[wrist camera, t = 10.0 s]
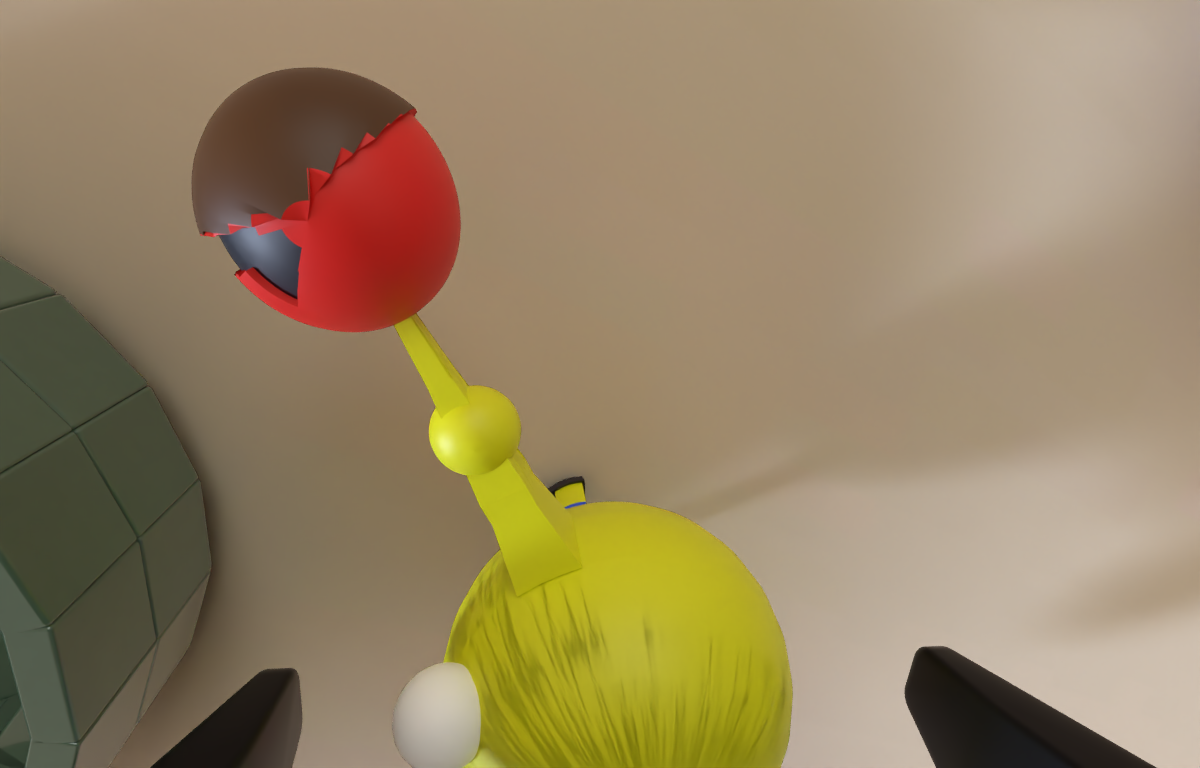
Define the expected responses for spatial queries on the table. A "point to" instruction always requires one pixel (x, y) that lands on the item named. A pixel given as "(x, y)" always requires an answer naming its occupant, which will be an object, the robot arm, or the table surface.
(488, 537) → the table surface
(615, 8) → the table surface
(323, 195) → the toy figure
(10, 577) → the bowl
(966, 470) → the table surface
